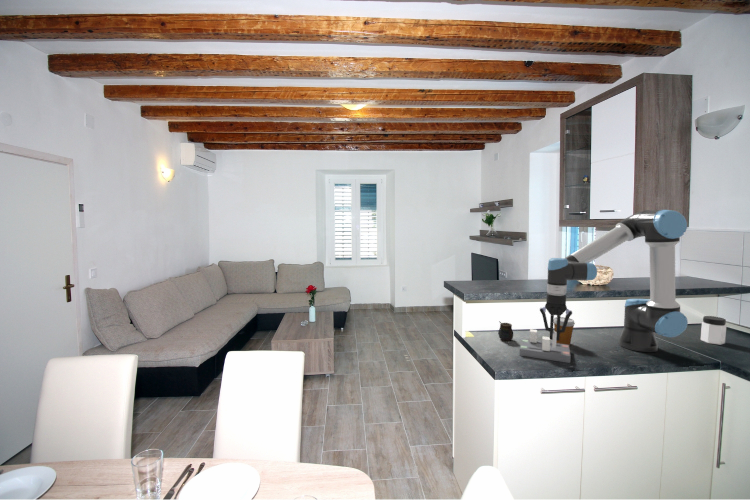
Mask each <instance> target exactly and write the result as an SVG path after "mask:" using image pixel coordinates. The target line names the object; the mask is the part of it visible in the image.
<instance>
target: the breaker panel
mask: <svg viewBox="0 0 750 500" xmlns="http://www.w3.org/2000/svg"><path fill="white" fill-rule="evenodd" d="M519 356H521V357H522V356H523V357H528V358H535V359H542V360H548V361H555V362H562V363H567V364H568V363H569V364H570V363H571V351H570V345H566V344H559V343H556V348H552V341H550V351H545V350H542V340H537V343H534V342H530V339H528V338H521V343H520V346H519Z"/></svg>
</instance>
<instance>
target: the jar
mask: <svg viewBox="0 0 750 500" xmlns="http://www.w3.org/2000/svg"><path fill="white" fill-rule="evenodd" d="M726 321H727V320H726V318H723V317H719V316H714V315H704V316H703V318H702V322H701V330H700V341H703V343H707V344H713V345H718V346H719V345H725V344H726V334H727V324H726V323H727V322H726Z"/></svg>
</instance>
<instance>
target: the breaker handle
mask: <svg viewBox="0 0 750 500" xmlns="http://www.w3.org/2000/svg"><path fill="white" fill-rule="evenodd" d="M537 339H538V330H537V329H533V328H532V329H531V328H530V329H529V340H530V342H534V343H537V341H538V340H537Z"/></svg>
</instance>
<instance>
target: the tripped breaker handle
mask: <svg viewBox="0 0 750 500" xmlns="http://www.w3.org/2000/svg"><path fill="white" fill-rule="evenodd" d="M541 339H542V340H541V341H542V350H545V351H550V342H551V339H550V336H544V335H543V336H542V338H541Z"/></svg>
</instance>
